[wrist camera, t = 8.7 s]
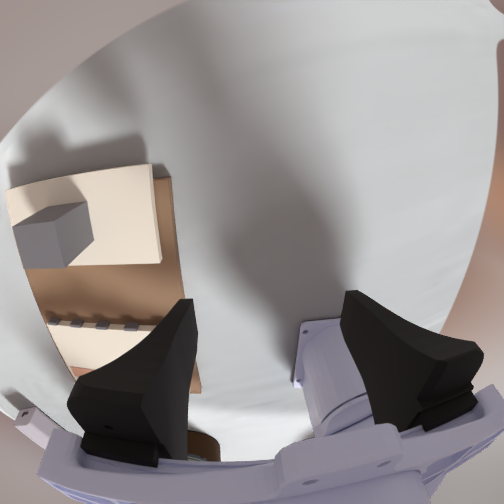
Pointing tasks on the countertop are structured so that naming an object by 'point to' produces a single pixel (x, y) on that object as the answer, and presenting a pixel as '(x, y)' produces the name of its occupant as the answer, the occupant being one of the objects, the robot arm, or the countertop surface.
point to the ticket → (94, 342)
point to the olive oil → (202, 447)
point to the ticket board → (118, 283)
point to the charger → (35, 425)
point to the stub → (86, 219)
